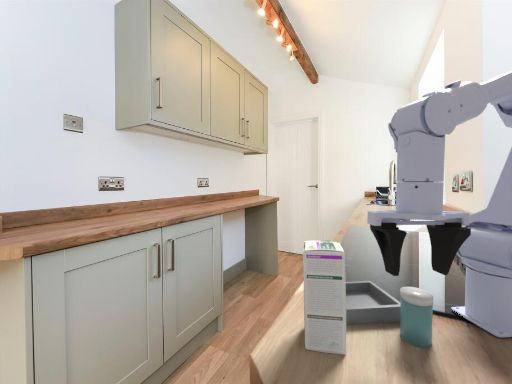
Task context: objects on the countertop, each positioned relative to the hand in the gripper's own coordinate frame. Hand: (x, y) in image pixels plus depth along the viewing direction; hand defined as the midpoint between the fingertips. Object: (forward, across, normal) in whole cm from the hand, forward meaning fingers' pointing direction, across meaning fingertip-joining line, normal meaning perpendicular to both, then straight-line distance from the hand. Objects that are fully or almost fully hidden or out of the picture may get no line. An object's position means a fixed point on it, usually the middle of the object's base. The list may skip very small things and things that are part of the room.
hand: (416, 272), depth 35 cm
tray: (+10, -3, +10) cm, 14 cm away
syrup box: (+10, -14, +1) cm, 17 cm away
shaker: (+10, 0, 0) cm, 10 cm away
